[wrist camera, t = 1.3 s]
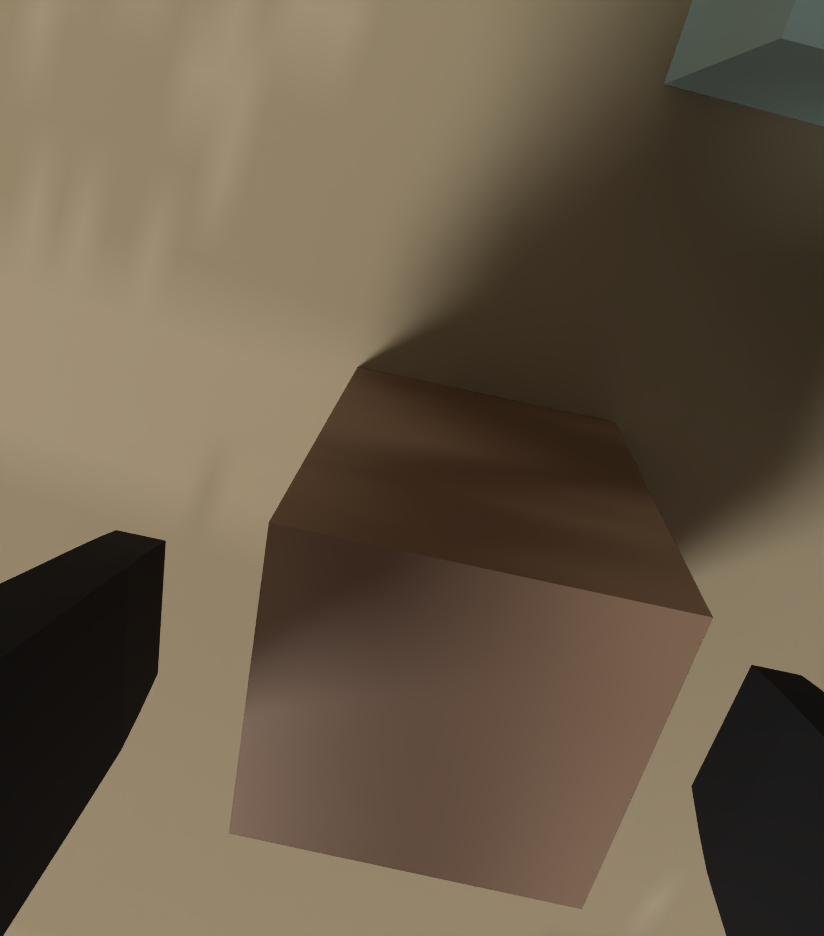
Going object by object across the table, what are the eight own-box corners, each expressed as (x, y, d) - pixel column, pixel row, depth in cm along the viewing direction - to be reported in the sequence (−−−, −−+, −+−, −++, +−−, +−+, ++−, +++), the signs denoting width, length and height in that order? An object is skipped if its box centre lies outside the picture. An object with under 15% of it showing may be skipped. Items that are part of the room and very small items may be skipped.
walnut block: (614, 421, 12) (713, 617, 7) (543, 631, 14) (581, 909, 9) (357, 366, 12) (268, 521, 7) (321, 583, 14) (229, 833, 9)
